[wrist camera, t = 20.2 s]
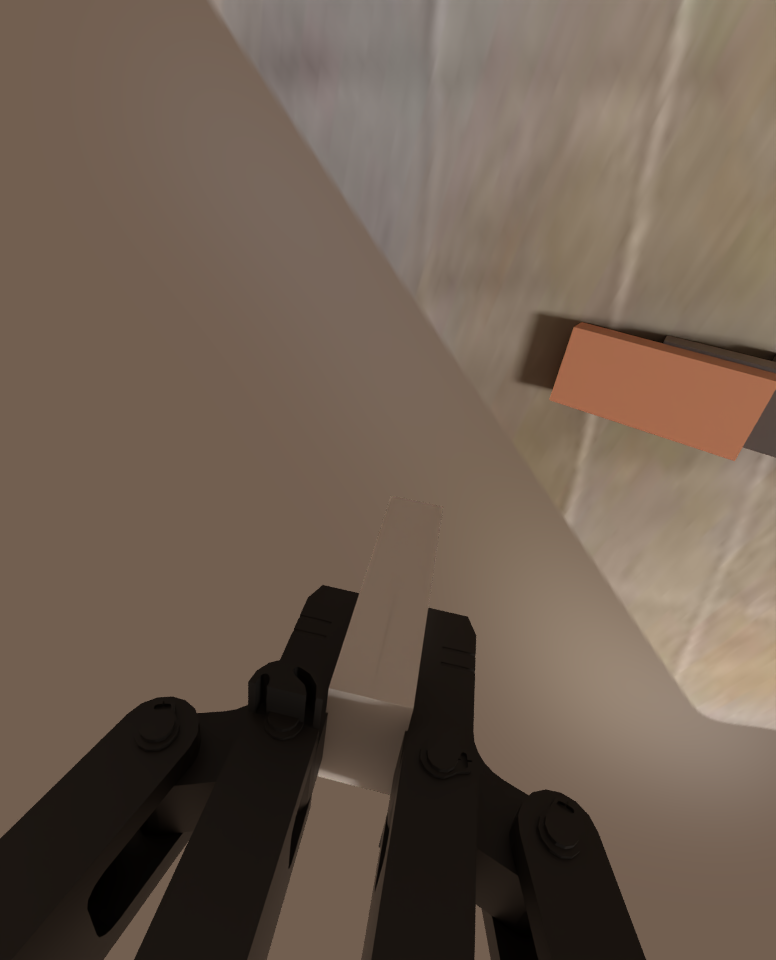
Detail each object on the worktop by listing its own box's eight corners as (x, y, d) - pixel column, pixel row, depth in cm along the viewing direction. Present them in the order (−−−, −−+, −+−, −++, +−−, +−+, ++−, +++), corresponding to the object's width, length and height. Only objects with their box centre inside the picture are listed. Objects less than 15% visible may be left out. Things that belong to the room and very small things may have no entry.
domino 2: (633, 413, 36) (833, 475, 32) (664, 340, 34) (886, 396, 29) (637, 404, 38) (827, 461, 34) (667, 335, 35) (876, 387, 31)
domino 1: (549, 399, 36) (734, 460, 32) (573, 326, 34) (779, 382, 29) (557, 391, 38) (733, 448, 34) (581, 322, 36) (776, 373, 31)
